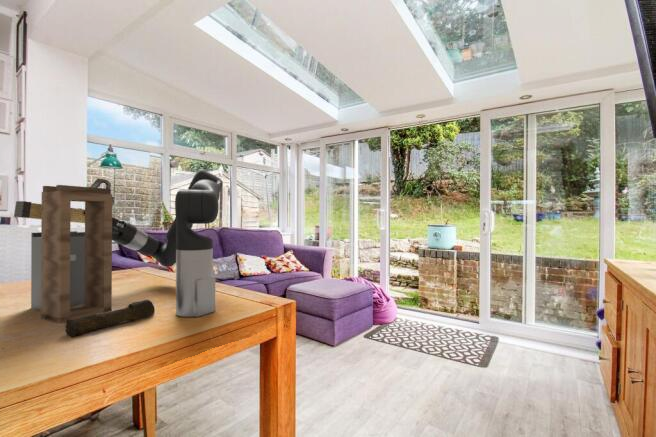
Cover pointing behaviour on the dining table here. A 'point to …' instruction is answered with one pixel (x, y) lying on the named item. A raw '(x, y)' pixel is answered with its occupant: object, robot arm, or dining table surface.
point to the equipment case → (75, 269)
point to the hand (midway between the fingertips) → (81, 211)
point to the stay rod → (35, 211)
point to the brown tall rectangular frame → (58, 252)
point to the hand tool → (110, 318)
